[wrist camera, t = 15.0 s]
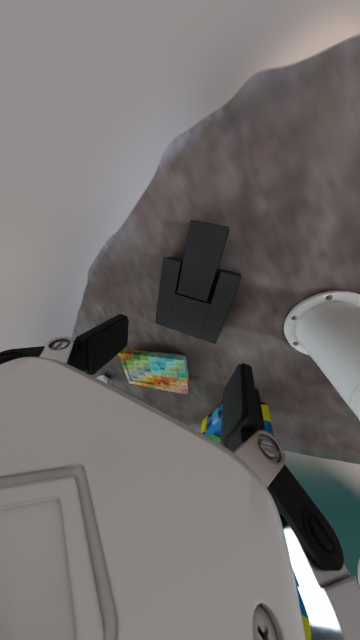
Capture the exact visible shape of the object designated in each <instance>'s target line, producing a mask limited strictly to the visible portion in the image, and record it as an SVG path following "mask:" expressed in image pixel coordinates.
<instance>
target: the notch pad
mask: <svg viewBox="0 0 360 640" xmlns="http://www.w3.org/2000/svg"><path fill="white" fill-rule="evenodd" d="M182 264H183V260H182V259H177V258H173V257H166V258H163V264H162V272H161V280H160V289H159V297H158V305H157V313H156V321H155V323H156V324H159V325H162V326H165V327H168V328H170V329H173V330H176V331H179V332H182V333H185V334H188V335H191V336H194V337H197V338H200V339H203V340H206V341H208V342H211V343H214V344H216V341H217V339H218V336H219V334H220V331H221V328H222V326H223V323H224V321H225V318H226V316H227V313H228V310H229V308H230V305H231V303H232V300H233V297H234V295H235V292H236V290H237V287H238V285H239V282H240V279H241V275H240V274H239V273H235V272H231V271H227V270H222V271H221V273H220V276H219V280H218V283H217V286H216V289H215V292H214V295H213V298H208V300H207V302H206V301H203V300H200V299H196V298H193V297H189V296H186V295H182V294H179V293H177V291H178V285H179V280H180V275H181V269H182Z"/></svg>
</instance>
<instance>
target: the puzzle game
mask: <svg viewBox="0 0 360 640" xmlns="http://www.w3.org/2000/svg"><path fill="white" fill-rule="evenodd" d="M118 355H119V357H120V360H121V363H122V366H123V369H124V371H125V374H126V377H127V380H128V383H131V384H136V385H141V386H146V387H151V388H156V389H161V390H166V391H171V392H176V393H181V394H189V393H190V384H189V377H188V369H187V362H186V356H185V355H184V354H174V353H164V352H153V351H142V350H133V351H127V350H122V351H120V352H119V353H118Z"/></svg>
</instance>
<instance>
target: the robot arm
mask: <svg viewBox="0 0 360 640" xmlns="http://www.w3.org/2000/svg"><path fill="white" fill-rule="evenodd" d="M327 296H328V297H327ZM292 316H294V317H292ZM128 323H129V320H128V319H127V316H125V315H122V314H119V315H117V316H115V317H113V318H111V319H109V320H108V321H106V322H104V323H102V324H100V325H98V326H96V327H95V328H93V329H91V330H89V331H87V332H85V333H83V334H81V335H80V336H78V337H76V340H74V341H73V339H71V338H67V337H60V338H56V339H53V340H51V341H49V342H48V343H47V344H46V346H42V347H31V348H21V349H11V350H6V351H3V352H1V353H0V640H306V639H305V633H304V628H303V622H302V616H301V611H300V605H299V600H298V594H297V589H296V584H295V579H294V574H293V571H294V573H295V576H296V578H297V581H298V583H299V586H297V588H298V590H299V593H300V595H301V598H302V600H303V603H304V606H305V609H306V612H307V615H308V618H309V623H310V630H311V640H360V559H359V562H358V581H357V579H356V577H355V576H354V575H352V576H351V575H350V574H349V572H348V570H347V568H346V567H345V565H344V563H343V562H344V558H343V552H342V549H341V546H340V543H339V540H338V538H337V536H336V534H335V532H334V530H333V529H332V527H331V526H330V524H329V523H328V521H327V520H326V518H325V517H324V516H323V515H322V513H321V512H320V510H319V509H318V508H317V507H316V505H315V504H314V503H313V501H312V500H311V498H310V497H309V496H308V495H307V493H306V492H305V491H304V489H303V488H302V487H301V485H300V484H299V483H298V481H297V480H296V479H295V477H294V476H293V475H292V473H291V472H290V471H289V470H288V468H287V467H286V466H285V453H284V450H283V448H282V446H281V445H280V443H279V442H278V440H277V439H276V438H275V437H274V436H273V435H272V434H270V433H269V432H267V431H265V425H264V419H263V413H262V408H261V402H260V396H259V391H258V390H257V389H255V387H254V380H253V373H252V367H251V366H249V365H246V364H244V363H242V365H241V364H239V365H238V366H237V368H236V370H235V371H234V373H233V375H232V377H231V378H230V380H229V382H228V383H227V385H226V387H225V389H224V396H223V409H222V423H221V436H220V441H221V442H223V445H221V444H219V443H218V442H216V441H214V440H213V439H211V438H209V437H207V436H206V435H204V434H202V433H200V432H198V431H196V430H195V429H193V428H191V427H189V426H187V425H185V424H183V423H182V422H180V421H178V420H176V419H174V418H172V417H170V416H168V415H166V414H164V413H163V412H161V411H159V410H157V409H155V408H153V407H151V406H149V405H147V404H145V403H143V402H142V401H140V400H138V399H136V398H134V397H132V396H130V395H128V394H126V393H124V392H122V391H120V390H118V389H116V388H114V387H113V386H111V385H109V384H107V383H105V382H103V381H101V380H99V379H97V378H95V377H93V376H91V375H93V374H95V373H96V372H97V371H98V370H100V369H101V368H102V367H103V366H104V365H105V364H107V363H108V362H109V361H110V360H111V359H112V358H113V357H115V356H116V355H117V354H118V353H119V352H120V351H122V350H123V349H124V348H125V347H126V345H127V339H128ZM284 334H285V337H286V339H287V340H288V342H289V343H290V344H291V346H292V347H294V348H295V349H296V350H298V351H300V352H302V353H304V354H307V355H310V356H311V357H312V359H313V360H314V361H315V362H316V364H317V365H318V366H319V368H320V369H321V370H322V372H323V373H324V374H325V376H326V377H327V378H328V380H329V381H330V382H331V383H332V385H333V386H334V387H335V389H336V390H337V391H338V393H339V394H340V395H341V397H342V398H343V399H344V401H345V402H346V403H347V404H348V406H349V407H350V408H351V410H352V411H353V412H354V413H355V415H356V416H357V417H358V418H359V420H360V294H357V293H354V292H349V291H339V290H337V291H327V292H323V293H319V294H316V295H313V296H310V297H309V298H307V299H305V300H303V301H301V302H300V303H299V304H297V305H296V306H295V307H294V308H293V309H292V310H291V311H290V313H289V314H288V316H287V317H286V320H285V323H284ZM292 568H293V569H292Z"/></svg>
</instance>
